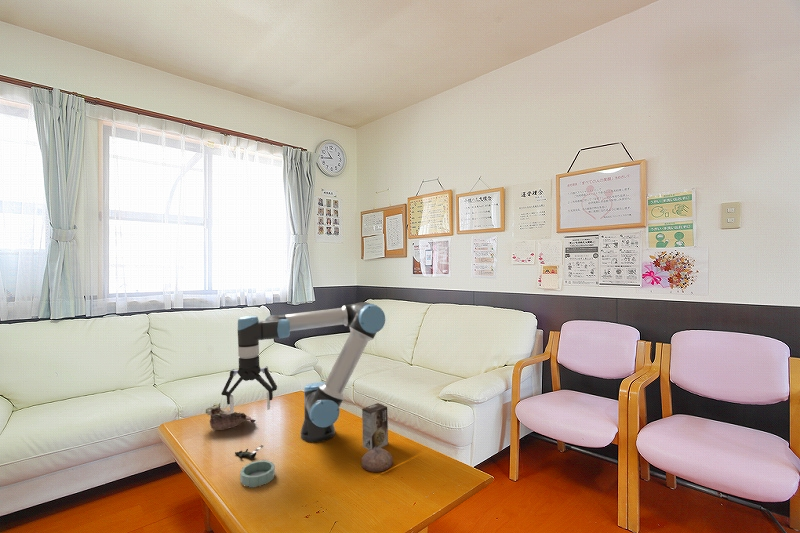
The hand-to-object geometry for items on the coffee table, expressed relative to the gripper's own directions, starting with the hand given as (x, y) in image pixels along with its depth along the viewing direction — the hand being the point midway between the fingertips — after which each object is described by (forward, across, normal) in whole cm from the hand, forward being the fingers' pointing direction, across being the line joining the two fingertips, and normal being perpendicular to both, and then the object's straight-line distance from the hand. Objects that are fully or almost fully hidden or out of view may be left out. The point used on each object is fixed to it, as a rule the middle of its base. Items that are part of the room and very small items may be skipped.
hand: (250, 410), depth 150 cm
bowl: (+19, -4, +15) cm, 25 cm away
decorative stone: (+22, -48, +20) cm, 56 cm away
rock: (+20, +16, -35) cm, 44 cm away
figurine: (+17, -3, +1) cm, 18 cm away
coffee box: (+20, -49, 0) cm, 53 cm away
